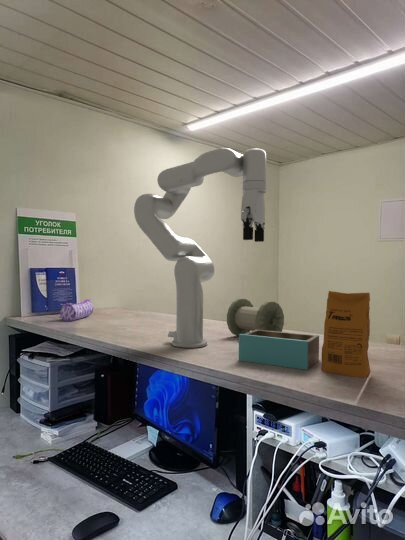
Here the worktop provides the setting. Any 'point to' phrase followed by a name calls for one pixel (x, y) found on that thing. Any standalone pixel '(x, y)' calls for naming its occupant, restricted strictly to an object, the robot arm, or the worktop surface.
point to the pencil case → (76, 310)
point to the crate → (313, 339)
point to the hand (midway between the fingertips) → (253, 240)
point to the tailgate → (274, 351)
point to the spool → (254, 317)
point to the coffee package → (346, 334)
